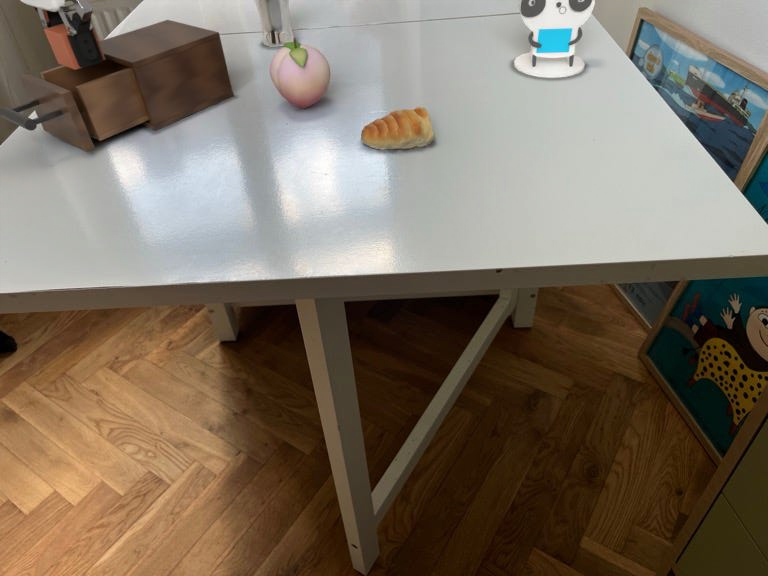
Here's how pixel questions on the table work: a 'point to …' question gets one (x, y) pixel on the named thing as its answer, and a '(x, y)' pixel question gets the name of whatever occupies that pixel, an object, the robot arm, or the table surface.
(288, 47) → the decorative fruit
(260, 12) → the beer glass
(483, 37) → the table surface
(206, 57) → the cabinet
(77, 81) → the drawer
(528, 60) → the panda figurine
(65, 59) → the block
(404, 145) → the pastry
